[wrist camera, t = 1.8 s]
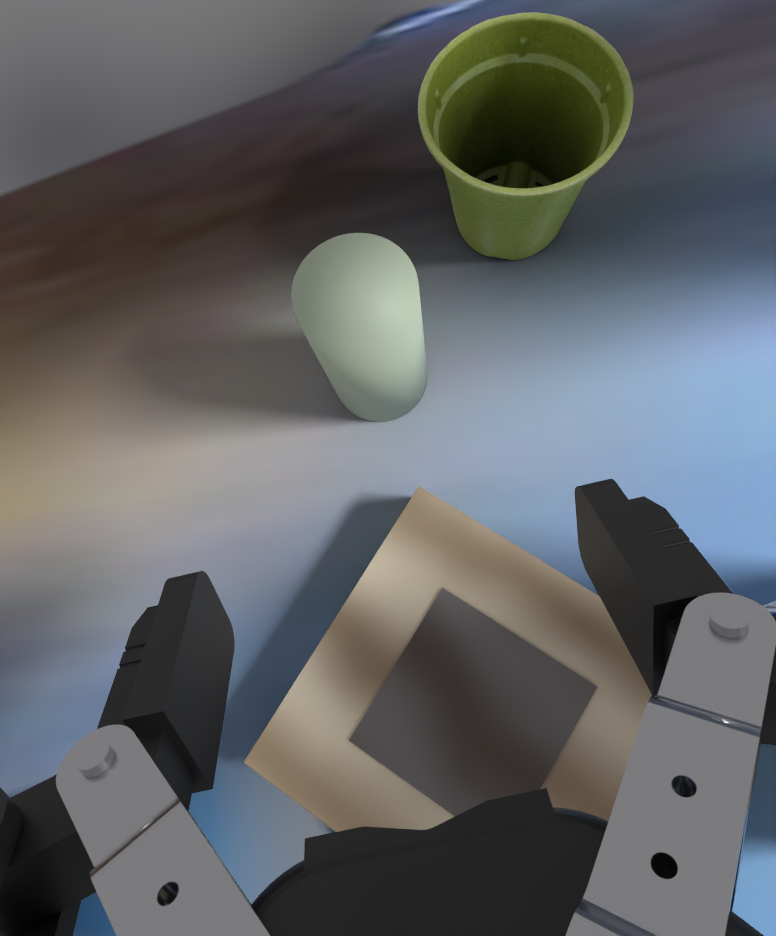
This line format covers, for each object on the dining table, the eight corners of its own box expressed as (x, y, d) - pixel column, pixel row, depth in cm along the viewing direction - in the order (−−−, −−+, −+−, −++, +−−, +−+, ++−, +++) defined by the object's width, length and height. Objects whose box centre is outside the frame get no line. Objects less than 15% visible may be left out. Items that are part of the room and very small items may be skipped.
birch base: (421, 496, 34) (418, 485, 31) (684, 657, 31) (709, 662, 28) (262, 748, 32) (242, 763, 29) (526, 943, 29) (534, 983, 26)
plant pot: (487, 321, 36) (499, 233, 27) (394, 200, 38) (378, 84, 29) (625, 230, 36) (678, 115, 28) (525, 115, 38) (546, -24, 30)
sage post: (367, 317, 36) (336, 212, 27) (445, 361, 35) (443, 268, 26) (316, 392, 36) (266, 312, 26) (394, 439, 35) (373, 374, 25)
